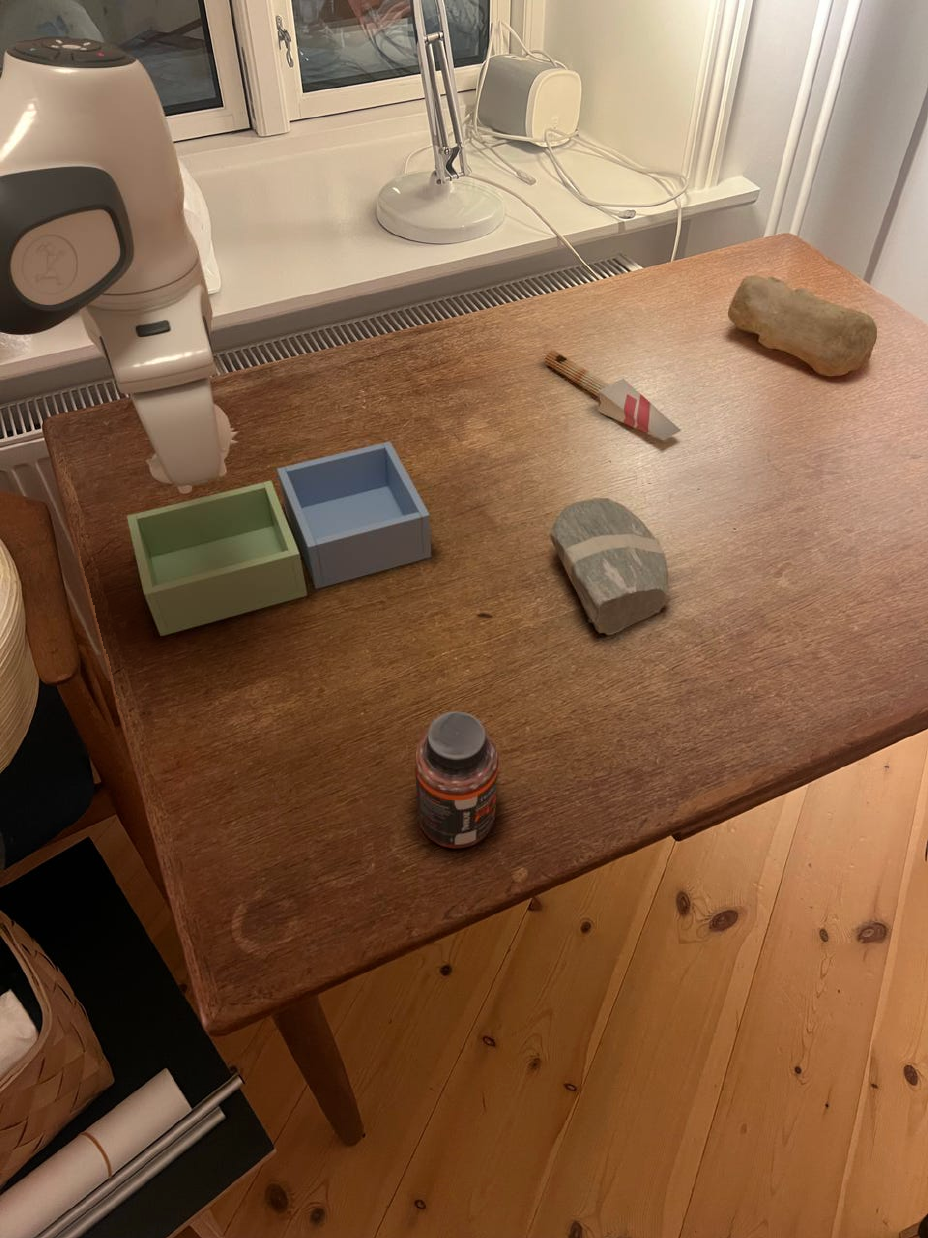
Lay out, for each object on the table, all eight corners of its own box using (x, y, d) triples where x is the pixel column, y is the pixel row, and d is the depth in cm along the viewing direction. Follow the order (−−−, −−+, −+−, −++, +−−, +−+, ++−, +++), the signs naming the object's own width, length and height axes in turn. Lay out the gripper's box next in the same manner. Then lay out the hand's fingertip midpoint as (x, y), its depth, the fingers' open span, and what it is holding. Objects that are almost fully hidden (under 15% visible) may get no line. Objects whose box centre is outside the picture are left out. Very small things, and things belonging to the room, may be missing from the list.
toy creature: (256, 467, 77) (242, 405, 72) (170, 509, 74) (150, 448, 69) (227, 441, 79) (211, 379, 75) (143, 481, 76) (121, 419, 71)
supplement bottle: (487, 859, 69) (491, 780, 60) (410, 844, 69) (402, 764, 61) (501, 789, 72) (506, 706, 64) (428, 776, 73) (423, 692, 65)
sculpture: (763, 283, 116) (748, 246, 108) (893, 330, 109) (889, 294, 100) (727, 345, 118) (710, 314, 109) (854, 396, 110) (846, 367, 101)
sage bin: (160, 636, 83) (144, 594, 78) (142, 558, 89) (126, 515, 85) (307, 595, 86) (299, 553, 82) (279, 522, 92) (271, 480, 88)
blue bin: (315, 589, 86) (307, 547, 82) (285, 511, 93) (276, 468, 89) (431, 557, 89) (429, 514, 85) (393, 483, 96) (390, 440, 92)
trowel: (661, 431, 97) (539, 352, 108) (657, 452, 99) (538, 372, 110) (687, 417, 98) (564, 340, 109) (683, 438, 100) (563, 361, 111)
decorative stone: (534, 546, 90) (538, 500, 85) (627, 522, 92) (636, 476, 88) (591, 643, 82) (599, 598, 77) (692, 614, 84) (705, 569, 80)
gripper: (81, 240, 70) (131, 392, 80) (117, 389, 57) (171, 546, 68) (165, 226, 71) (203, 377, 82) (217, 368, 59) (255, 525, 69)
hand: (189, 455), depth 75 cm, fingers closed on toy creature, 5 cm apart
